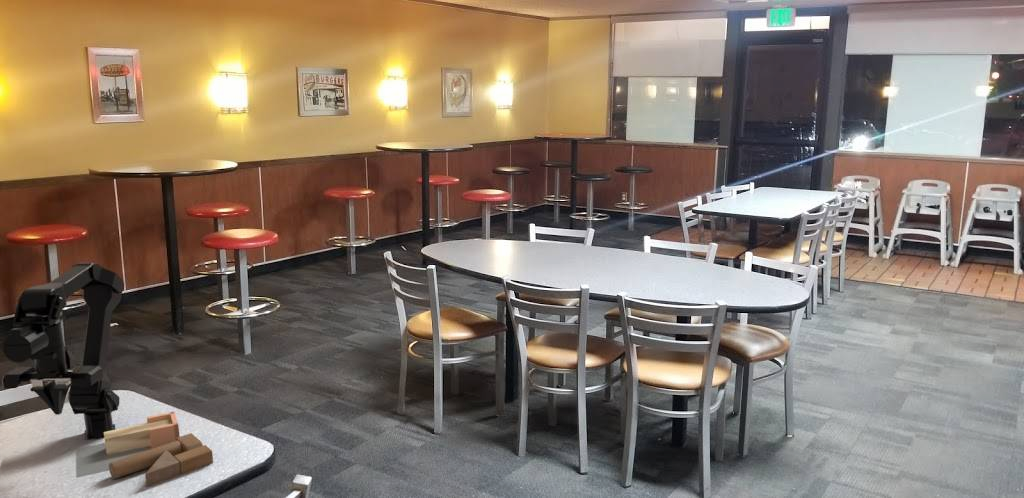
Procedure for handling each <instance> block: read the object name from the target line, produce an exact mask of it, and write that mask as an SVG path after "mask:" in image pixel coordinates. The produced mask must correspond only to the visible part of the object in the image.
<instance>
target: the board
mask: <svg viewBox="0 0 1024 498" xmlns="http://www.w3.org/2000/svg"><path fill="white" fill-rule="evenodd" d="M150 449H152V448H151V446H147V447H143V448H138V449H134V450H129V451H125V452H120V453H116V454H111V455H107V453H106V446H105V442H103V443H97V444H92V445H88V446H84V447H79V448H76V452H75V453H76V455H75V456H76V457H75V458H76V461H75V462H76V478H81V477H86V476H89V475H94V474H99V473H103V472H107V471H109V463H111V462H113V461H116V460H119V459H122V458H125V457H128V456H131V455H134V454H137V453H140V452H144V451H147V450H150Z"/></svg>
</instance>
